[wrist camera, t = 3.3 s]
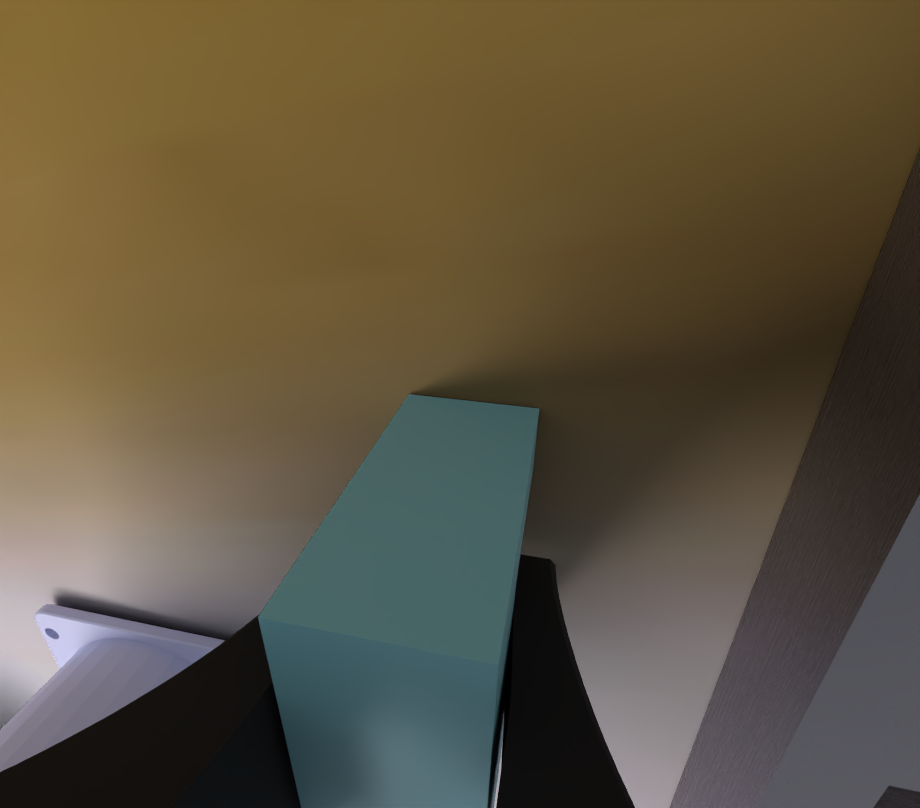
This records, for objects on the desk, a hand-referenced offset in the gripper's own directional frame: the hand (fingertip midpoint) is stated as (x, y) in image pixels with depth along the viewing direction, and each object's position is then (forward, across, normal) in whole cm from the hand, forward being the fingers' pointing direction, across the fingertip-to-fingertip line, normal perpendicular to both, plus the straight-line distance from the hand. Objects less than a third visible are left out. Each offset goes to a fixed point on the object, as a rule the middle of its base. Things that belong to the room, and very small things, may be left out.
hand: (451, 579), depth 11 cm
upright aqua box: (+2, 0, 0) cm, 2 cm away
